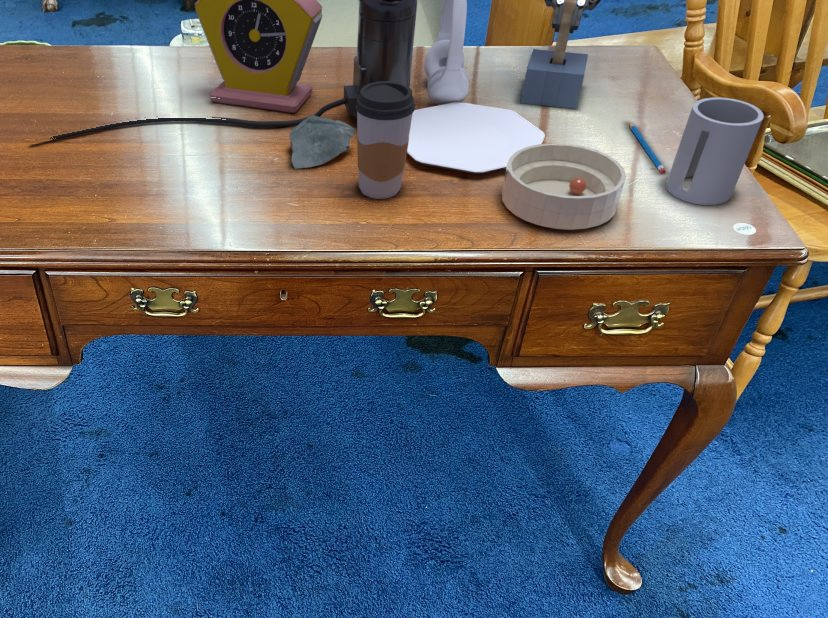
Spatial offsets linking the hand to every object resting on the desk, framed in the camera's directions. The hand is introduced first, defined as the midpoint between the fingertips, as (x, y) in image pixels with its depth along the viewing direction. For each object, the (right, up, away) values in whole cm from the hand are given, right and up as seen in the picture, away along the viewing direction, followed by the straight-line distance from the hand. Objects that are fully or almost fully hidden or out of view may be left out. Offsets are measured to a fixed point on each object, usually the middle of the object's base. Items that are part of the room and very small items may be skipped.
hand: (564, 30), depth 136 cm
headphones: (-18, -7, +11) cm, 22 cm away
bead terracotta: (-4, -31, -17) cm, 36 cm away
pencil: (+11, -22, -5) cm, 25 cm away
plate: (-17, -20, -3) cm, 27 cm away
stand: (+1, -7, +10) cm, 12 cm away
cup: (+15, -31, -15) cm, 38 cm away
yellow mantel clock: (-51, -7, +12) cm, 53 cm away
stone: (-42, -23, -5) cm, 48 cm away
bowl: (-7, -34, -17) cm, 39 cm away
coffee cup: (-33, -31, -13) cm, 47 cm away
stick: (+1, -7, +10) cm, 12 cm away
